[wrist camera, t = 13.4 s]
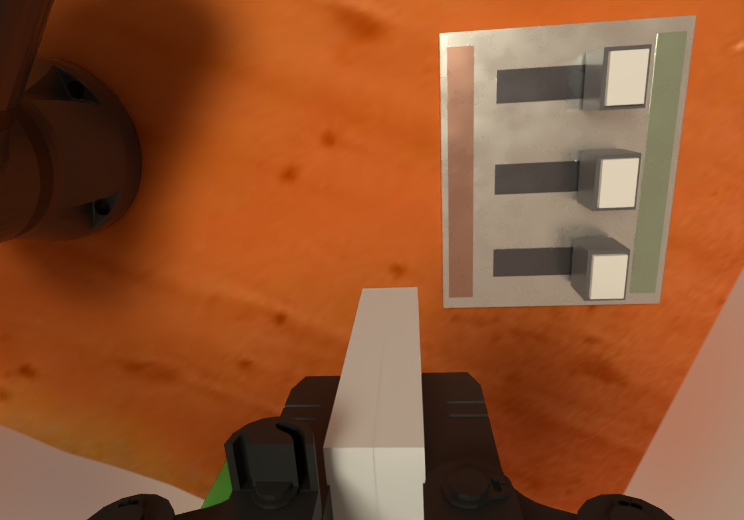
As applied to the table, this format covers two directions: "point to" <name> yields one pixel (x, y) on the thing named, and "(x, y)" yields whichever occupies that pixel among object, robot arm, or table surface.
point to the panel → (550, 159)
